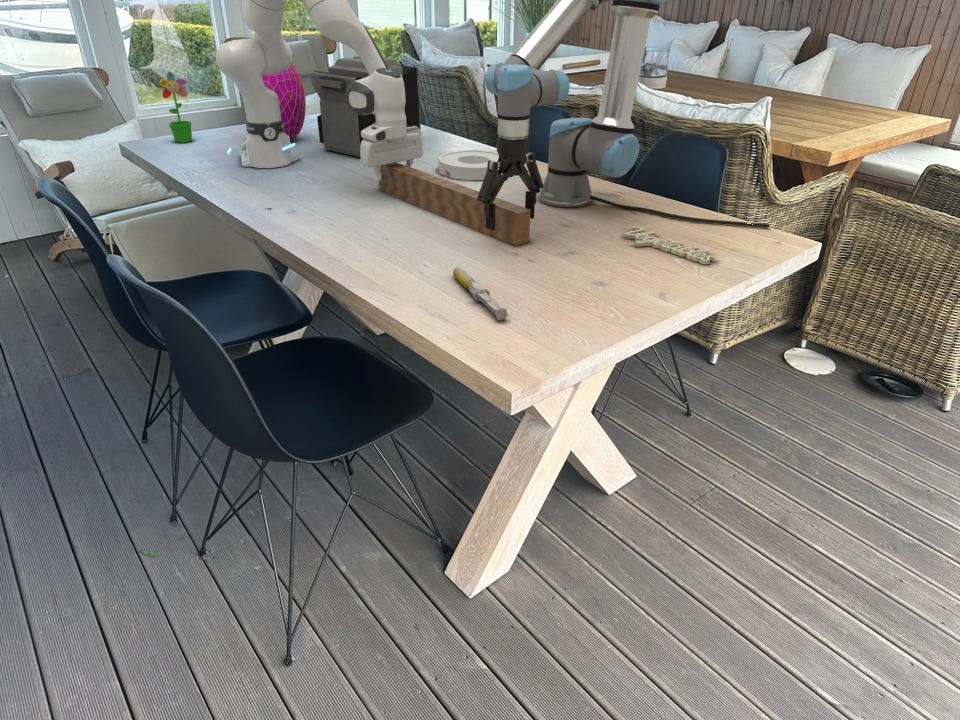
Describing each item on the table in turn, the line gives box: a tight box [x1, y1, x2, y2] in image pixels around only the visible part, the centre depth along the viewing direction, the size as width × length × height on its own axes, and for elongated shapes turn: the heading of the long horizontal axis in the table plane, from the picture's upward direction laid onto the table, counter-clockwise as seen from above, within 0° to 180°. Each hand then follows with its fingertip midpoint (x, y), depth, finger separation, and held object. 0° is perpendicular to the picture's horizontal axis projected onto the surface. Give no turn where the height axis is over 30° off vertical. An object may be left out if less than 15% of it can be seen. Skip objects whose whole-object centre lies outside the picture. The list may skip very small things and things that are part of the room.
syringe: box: [452, 266, 509, 321], centre depth 145 cm, size 25×4×3 cm, turn 21°
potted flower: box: [158, 70, 193, 144], centre depth 255 cm, size 9×8×25 cm
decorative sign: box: [624, 226, 717, 265], centre depth 170 cm, size 26×1×10 cm
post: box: [378, 162, 531, 247], centre depth 189 cm, size 61×5×8 cm, turn 41°
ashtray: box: [438, 149, 503, 181], centre depth 229 cm, size 23×23×4 cm
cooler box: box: [310, 55, 422, 158], centre depth 250 cm, size 37×22×30 cm, turn 144°
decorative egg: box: [262, 62, 307, 141], centre depth 257 cm, size 19×19×30 cm
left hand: (393, 177), depth 206 cm, fingers open, 8 cm apart
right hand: (510, 223), depth 173 cm, fingers open, 13 cm apart
